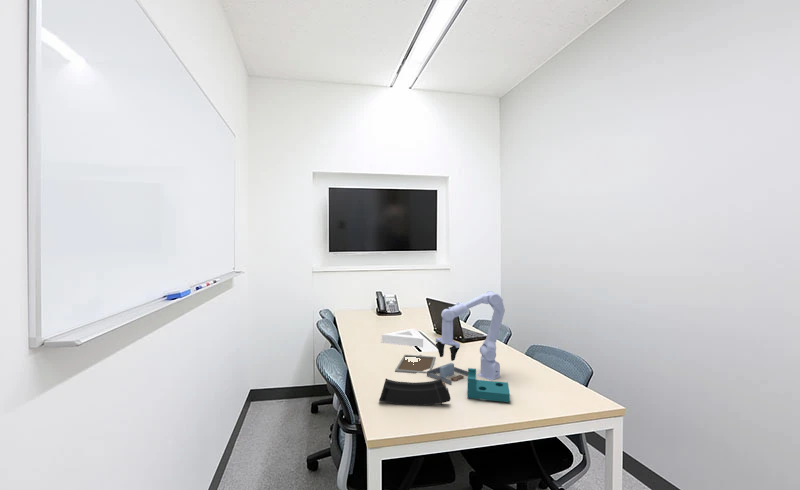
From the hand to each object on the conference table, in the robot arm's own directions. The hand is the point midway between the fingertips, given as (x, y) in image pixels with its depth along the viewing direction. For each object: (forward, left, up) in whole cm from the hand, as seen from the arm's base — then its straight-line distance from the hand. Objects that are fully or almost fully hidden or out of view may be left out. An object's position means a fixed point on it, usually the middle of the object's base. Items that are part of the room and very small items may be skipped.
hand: (447, 358), depth 186 cm
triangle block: (+57, -29, -10) cm, 65 cm away
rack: (-1, 0, -9) cm, 9 cm away
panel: (0, 0, -10) cm, 10 cm away
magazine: (-11, +35, -10) cm, 38 cm away
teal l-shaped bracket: (-28, +5, -10) cm, 30 cm away
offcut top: (-7, 0, -9) cm, 11 cm away
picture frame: (+24, -2, -10) cm, 26 cm away
